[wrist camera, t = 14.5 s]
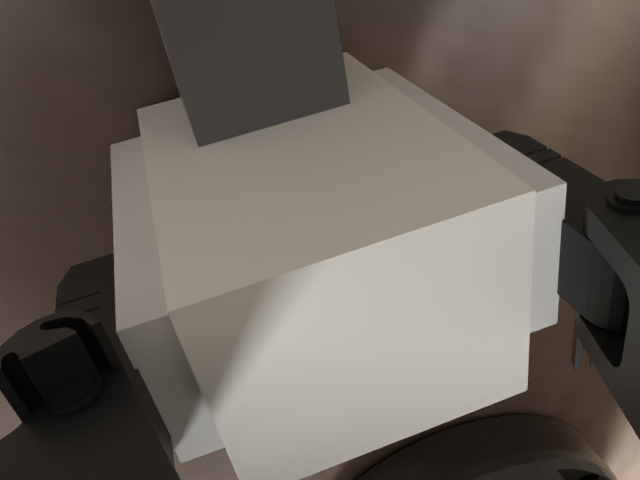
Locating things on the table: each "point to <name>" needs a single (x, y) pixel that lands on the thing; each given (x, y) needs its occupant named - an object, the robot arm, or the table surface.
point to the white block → (326, 242)
